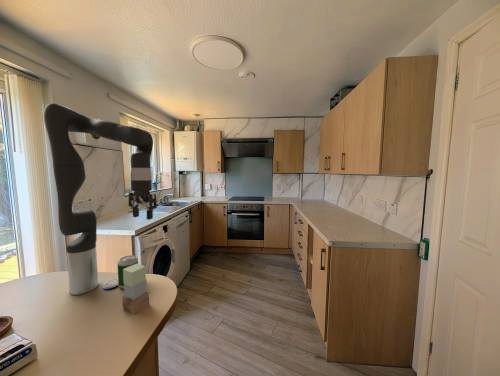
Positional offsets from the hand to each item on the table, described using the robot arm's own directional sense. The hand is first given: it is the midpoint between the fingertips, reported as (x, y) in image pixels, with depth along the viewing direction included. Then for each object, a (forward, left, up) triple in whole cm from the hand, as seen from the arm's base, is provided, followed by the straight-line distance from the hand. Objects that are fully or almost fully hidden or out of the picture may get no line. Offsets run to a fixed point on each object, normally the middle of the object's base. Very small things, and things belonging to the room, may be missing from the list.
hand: (142, 218), depth 81 cm
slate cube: (+8, -10, -25) cm, 28 cm away
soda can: (-8, -2, -30) cm, 31 cm away
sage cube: (+8, -10, -20) cm, 24 cm away
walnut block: (+8, -10, -30) cm, 33 cm away
